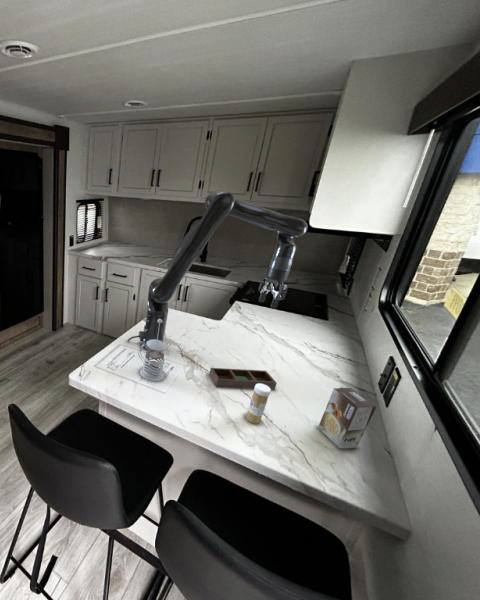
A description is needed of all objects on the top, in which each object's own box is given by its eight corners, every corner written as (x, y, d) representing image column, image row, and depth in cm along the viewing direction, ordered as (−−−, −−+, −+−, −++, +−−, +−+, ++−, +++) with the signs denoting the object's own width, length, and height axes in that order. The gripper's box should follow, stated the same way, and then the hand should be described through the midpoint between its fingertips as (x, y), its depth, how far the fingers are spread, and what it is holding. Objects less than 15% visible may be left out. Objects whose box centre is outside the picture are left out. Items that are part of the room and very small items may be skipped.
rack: (274, 390, 123) (276, 382, 122) (216, 387, 124) (217, 379, 122) (263, 377, 131) (266, 370, 129) (208, 374, 131) (210, 367, 130)
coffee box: (358, 448, 98) (378, 407, 92) (339, 449, 97) (358, 407, 91) (334, 426, 106) (351, 387, 100) (316, 426, 106) (332, 387, 100)
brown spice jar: (242, 415, 109) (252, 383, 104) (254, 414, 110) (264, 382, 105) (251, 425, 105) (262, 392, 100) (263, 423, 106) (274, 391, 101)
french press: (159, 384, 124) (169, 327, 114) (132, 374, 129) (139, 319, 120) (167, 372, 131) (176, 318, 122) (141, 363, 137) (148, 310, 128)
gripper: (260, 263, 137) (249, 299, 141) (282, 269, 123) (269, 308, 128) (276, 266, 138) (265, 301, 142) (300, 272, 124) (286, 311, 128)
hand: (267, 304), depth 135 cm, fingers open, 8 cm apart
